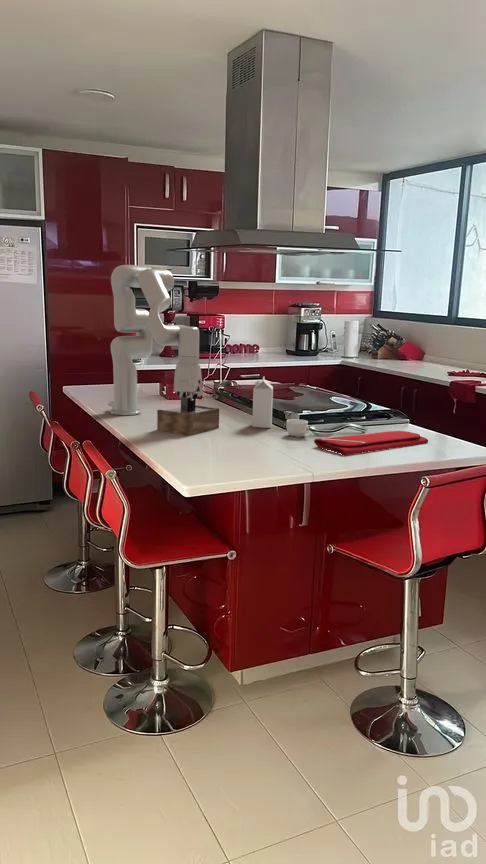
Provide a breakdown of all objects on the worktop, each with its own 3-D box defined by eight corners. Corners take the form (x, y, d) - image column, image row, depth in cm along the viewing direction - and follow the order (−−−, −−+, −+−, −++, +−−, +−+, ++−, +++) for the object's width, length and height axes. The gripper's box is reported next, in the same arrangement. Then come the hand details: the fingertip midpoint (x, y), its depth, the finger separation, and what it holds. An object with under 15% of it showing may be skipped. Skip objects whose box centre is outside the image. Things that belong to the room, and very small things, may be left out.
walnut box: (157, 429, 255) (157, 409, 253) (187, 422, 269) (187, 403, 268) (189, 435, 247) (189, 414, 245) (218, 428, 261) (219, 408, 260)
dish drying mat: (429, 444, 246) (429, 434, 245) (344, 457, 222) (345, 446, 221) (395, 436, 258) (396, 426, 257) (312, 447, 235) (313, 437, 234)
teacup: (281, 435, 252) (282, 420, 251) (296, 432, 257) (297, 418, 256) (300, 440, 245) (301, 425, 243) (316, 437, 249) (316, 422, 248)
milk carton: (271, 424, 270) (273, 376, 266) (270, 428, 263) (272, 378, 260) (253, 424, 271) (255, 375, 267) (252, 427, 264) (253, 378, 260)
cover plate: (161, 413, 254) (161, 397, 253) (187, 408, 267) (187, 393, 265) (188, 417, 247) (188, 401, 246) (213, 412, 260) (214, 396, 259)
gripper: (164, 359, 254) (164, 409, 258) (200, 363, 246) (199, 414, 249) (177, 358, 260) (177, 406, 264) (212, 361, 252) (211, 411, 255)
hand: (188, 409), depth 257 cm, fingers closed on cover plate, 3 cm apart
